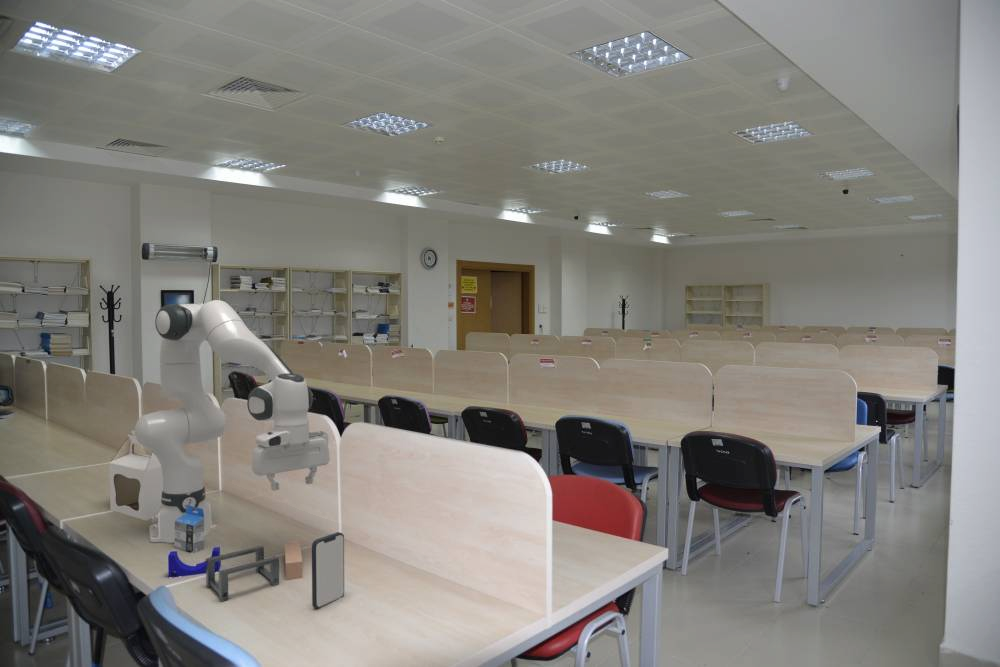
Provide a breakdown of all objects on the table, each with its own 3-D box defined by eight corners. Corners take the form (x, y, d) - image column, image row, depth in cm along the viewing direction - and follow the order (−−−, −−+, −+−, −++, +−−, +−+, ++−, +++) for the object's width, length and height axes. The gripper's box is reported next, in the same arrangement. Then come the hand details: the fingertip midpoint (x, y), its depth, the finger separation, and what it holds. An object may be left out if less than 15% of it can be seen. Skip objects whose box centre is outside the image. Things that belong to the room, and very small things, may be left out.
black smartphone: (340, 595, 156) (340, 530, 155) (345, 597, 155) (344, 531, 155) (310, 608, 149) (310, 540, 148) (315, 610, 148) (314, 542, 147)
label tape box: (173, 549, 186) (172, 507, 186) (186, 545, 190) (185, 504, 189) (192, 555, 182) (192, 512, 182) (205, 550, 185) (204, 508, 185)
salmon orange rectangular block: (284, 560, 179) (284, 542, 179) (299, 558, 180) (299, 540, 180) (286, 582, 164) (285, 563, 164) (302, 580, 165) (302, 561, 165)
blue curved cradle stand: (220, 566, 174) (220, 545, 174) (218, 573, 170) (218, 550, 170) (172, 571, 171) (171, 549, 171) (168, 578, 166) (168, 555, 166)
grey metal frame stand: (206, 586, 161) (205, 558, 161) (262, 571, 170) (261, 545, 170) (221, 602, 152) (221, 572, 152) (279, 585, 162) (278, 558, 161)
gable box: (109, 512, 221) (108, 431, 220) (147, 503, 232) (146, 426, 231) (146, 523, 209) (144, 438, 208) (184, 512, 221) (183, 431, 220)
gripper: (323, 428, 180) (323, 477, 180) (249, 438, 167) (250, 491, 167) (333, 431, 175) (334, 482, 176) (258, 441, 162) (259, 496, 162)
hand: (292, 486), depth 171 cm, fingers open, 8 cm apart
